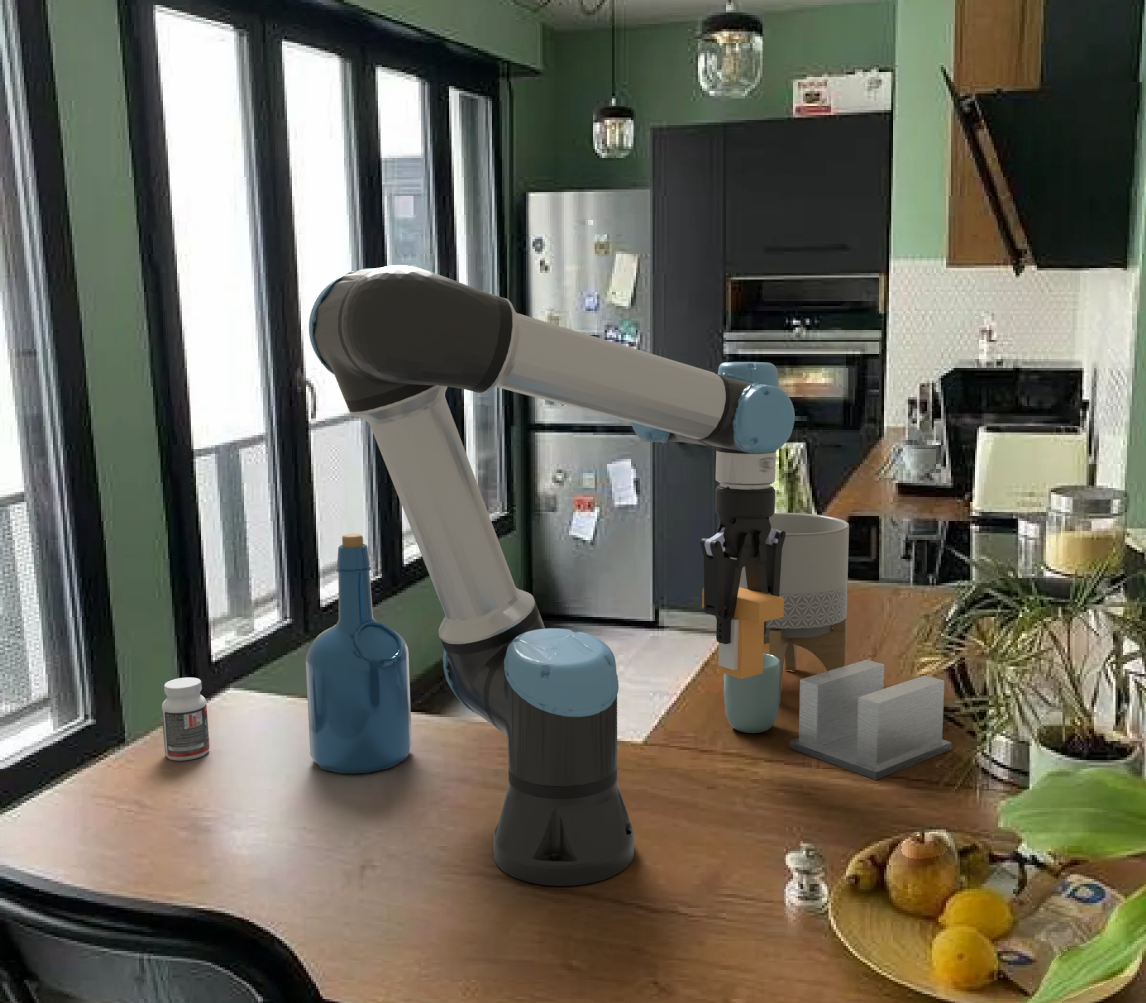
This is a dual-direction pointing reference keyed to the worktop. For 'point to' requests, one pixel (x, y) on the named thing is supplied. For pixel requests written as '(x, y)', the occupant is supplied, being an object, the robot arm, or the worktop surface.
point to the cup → (754, 698)
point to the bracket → (870, 719)
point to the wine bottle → (358, 679)
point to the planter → (810, 590)
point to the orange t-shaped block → (752, 629)
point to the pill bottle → (185, 720)
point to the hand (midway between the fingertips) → (740, 663)
